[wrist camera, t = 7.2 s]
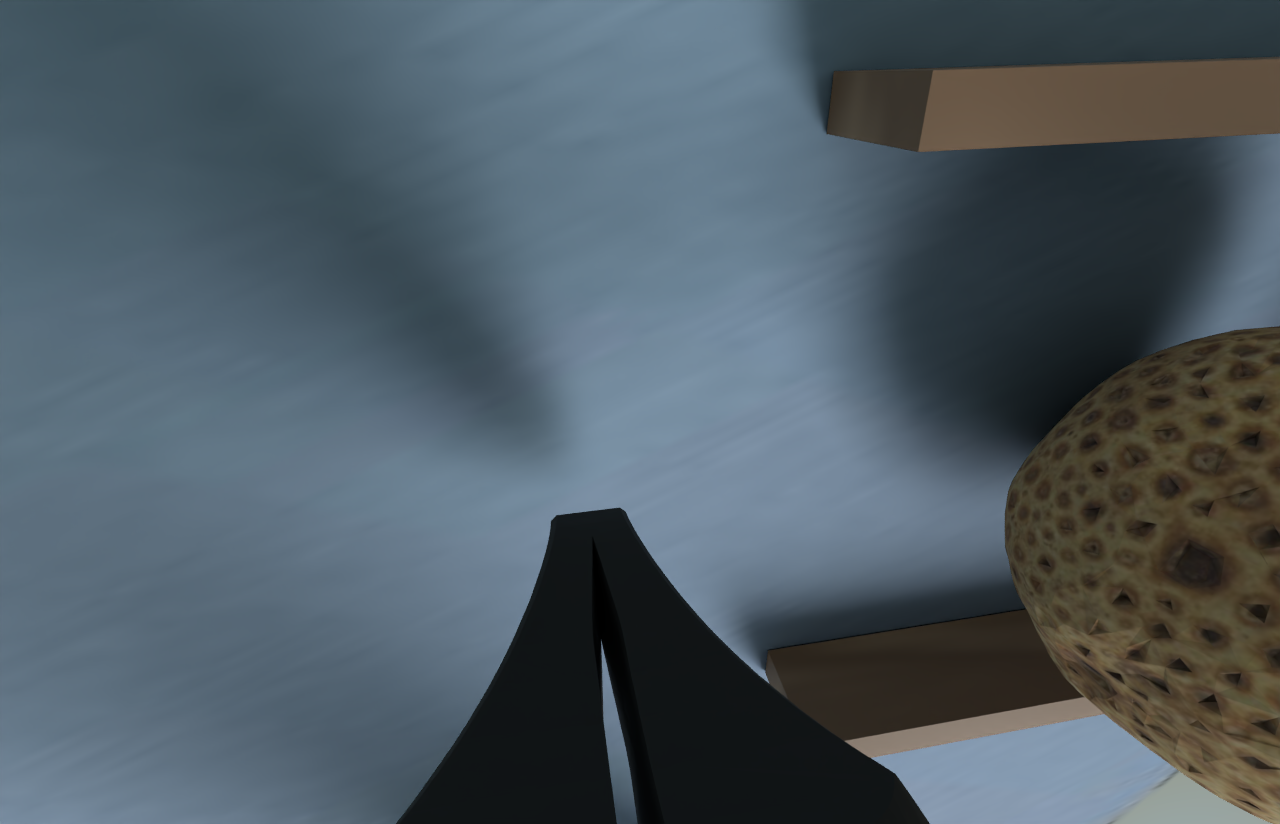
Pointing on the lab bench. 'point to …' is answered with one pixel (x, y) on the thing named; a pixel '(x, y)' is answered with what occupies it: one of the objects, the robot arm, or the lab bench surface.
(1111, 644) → the natural sponge
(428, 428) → the lab bench surface
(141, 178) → the lab bench surface
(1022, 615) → the wooden u-shaped fence
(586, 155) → the lab bench surface
